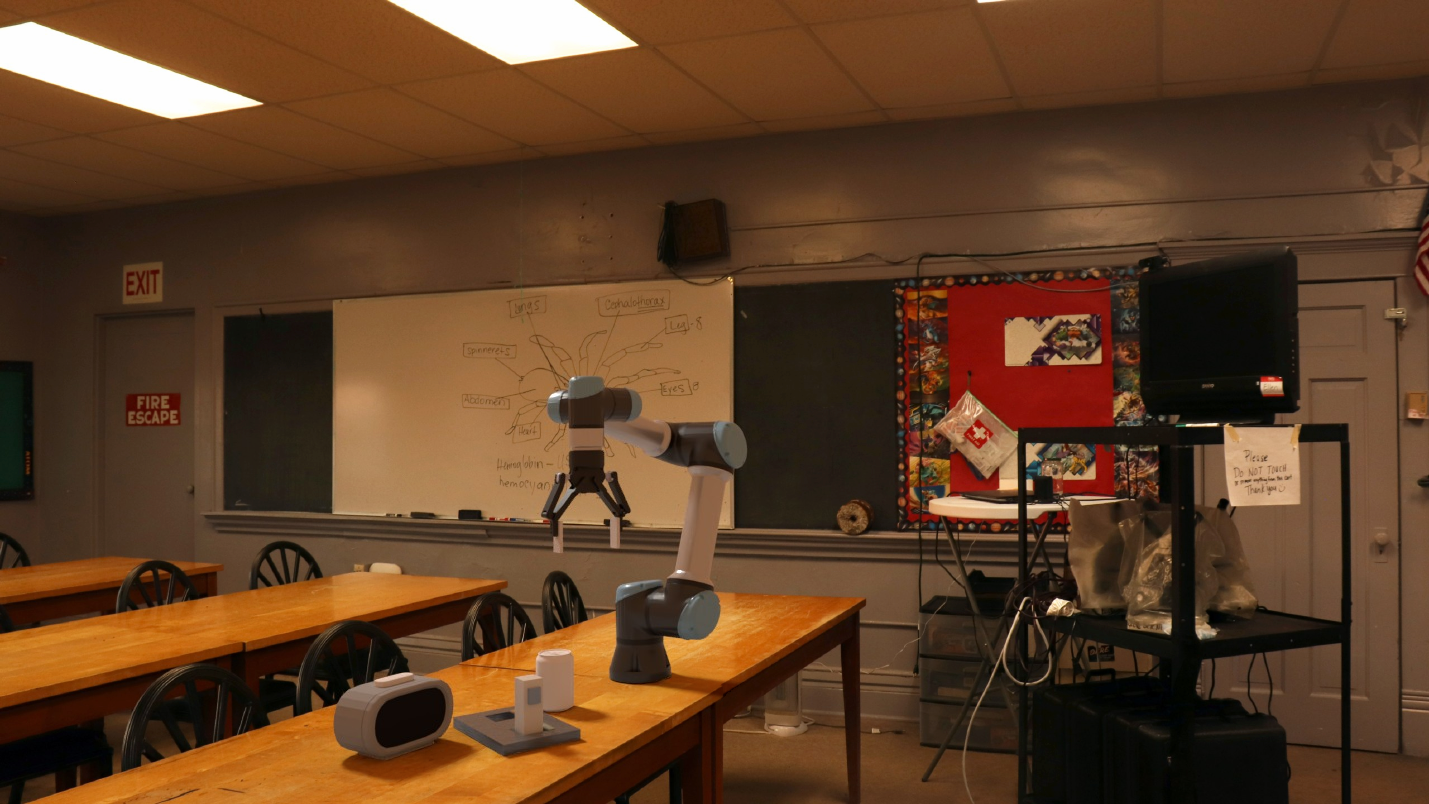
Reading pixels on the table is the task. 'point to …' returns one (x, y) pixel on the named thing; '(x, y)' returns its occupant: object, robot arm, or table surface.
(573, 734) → the panel
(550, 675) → the beverage can
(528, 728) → the plug
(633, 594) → the robot arm
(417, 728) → the alarm clock
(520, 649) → the table surface
